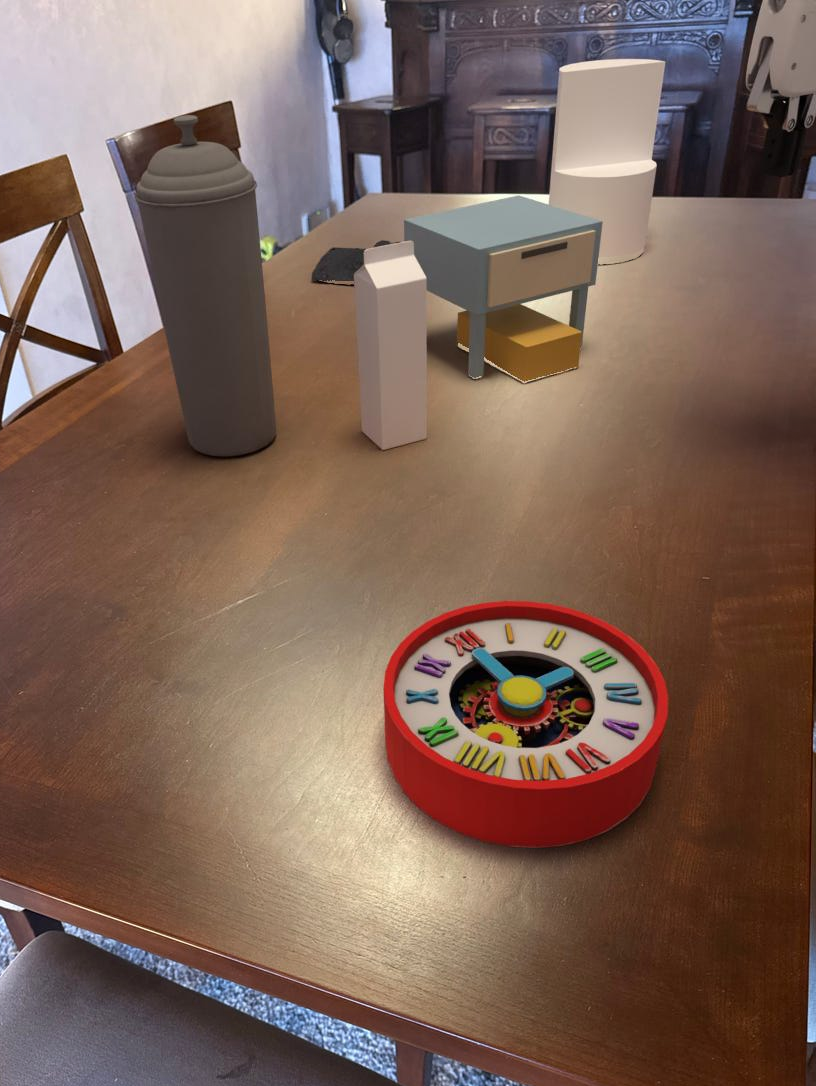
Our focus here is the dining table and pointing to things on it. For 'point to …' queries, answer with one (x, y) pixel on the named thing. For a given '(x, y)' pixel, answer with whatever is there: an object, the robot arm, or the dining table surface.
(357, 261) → the dark slate chunk
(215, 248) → the canister
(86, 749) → the dining table surface
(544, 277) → the drawer unit
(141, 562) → the dining table surface
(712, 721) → the dining table surface
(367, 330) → the milk
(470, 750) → the toy clock
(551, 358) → the yellow rectangular block
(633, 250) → the cylinder
